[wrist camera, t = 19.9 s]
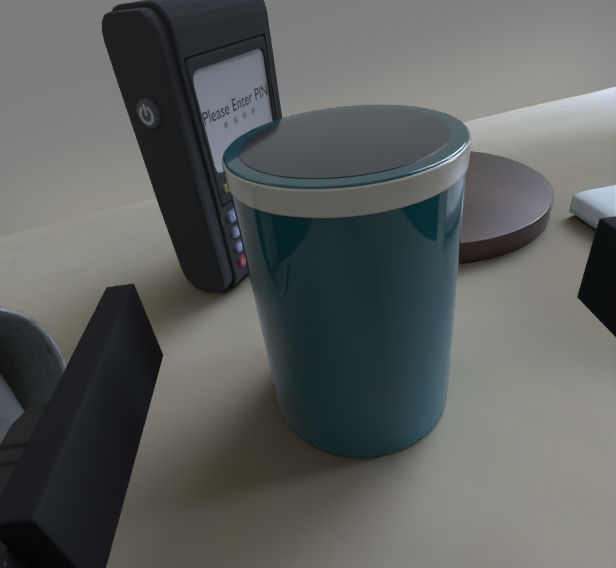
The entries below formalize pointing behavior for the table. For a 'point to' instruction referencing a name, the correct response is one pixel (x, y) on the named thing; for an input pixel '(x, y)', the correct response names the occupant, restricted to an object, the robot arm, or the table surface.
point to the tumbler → (354, 266)
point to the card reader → (194, 114)
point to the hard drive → (594, 204)
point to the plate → (501, 206)
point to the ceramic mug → (25, 366)
